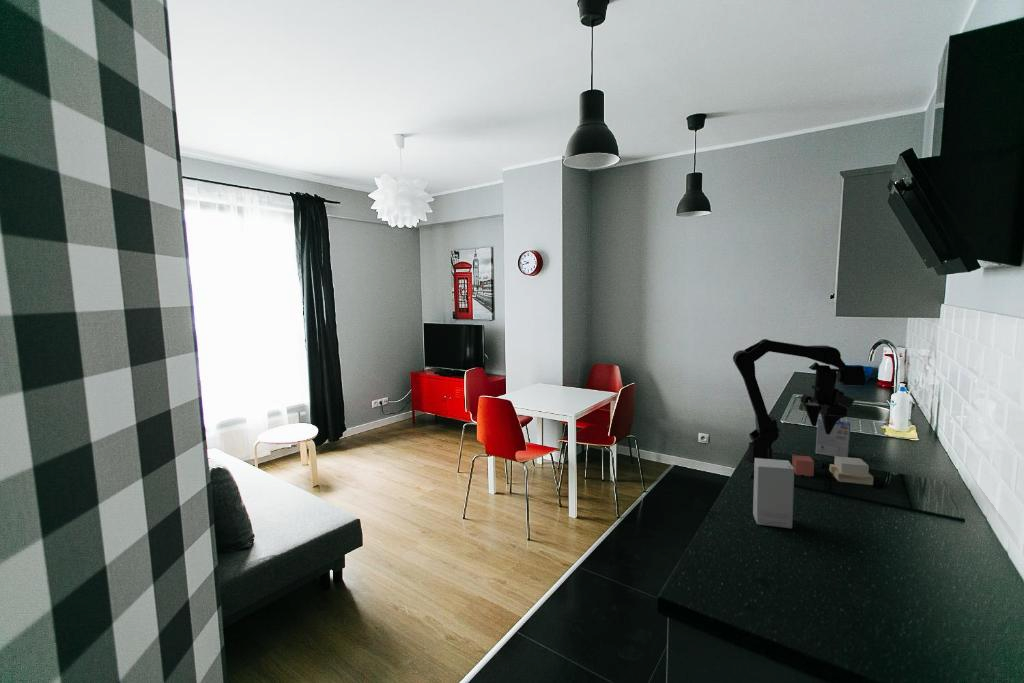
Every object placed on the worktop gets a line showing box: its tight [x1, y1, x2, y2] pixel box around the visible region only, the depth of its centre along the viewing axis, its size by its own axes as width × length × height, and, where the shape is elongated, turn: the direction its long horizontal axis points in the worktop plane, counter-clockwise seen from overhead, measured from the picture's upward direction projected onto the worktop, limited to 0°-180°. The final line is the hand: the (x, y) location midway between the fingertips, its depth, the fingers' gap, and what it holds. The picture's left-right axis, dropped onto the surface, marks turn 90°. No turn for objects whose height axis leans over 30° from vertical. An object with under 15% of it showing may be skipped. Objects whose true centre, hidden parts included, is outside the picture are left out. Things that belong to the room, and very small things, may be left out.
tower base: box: [828, 463, 874, 486], centre depth 148 cm, size 9×9×3 cm
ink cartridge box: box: [814, 418, 851, 457], centre depth 169 cm, size 10×6×14 cm, turn 55°
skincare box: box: [752, 458, 795, 529], centre depth 119 cm, size 8×7×16 cm
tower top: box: [833, 456, 870, 475], centre depth 148 cm, size 7×7×3 cm
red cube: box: [791, 454, 815, 477], centre depth 152 cm, size 5×5×5 cm
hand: (820, 429), depth 157 cm, fingers open, 9 cm apart
